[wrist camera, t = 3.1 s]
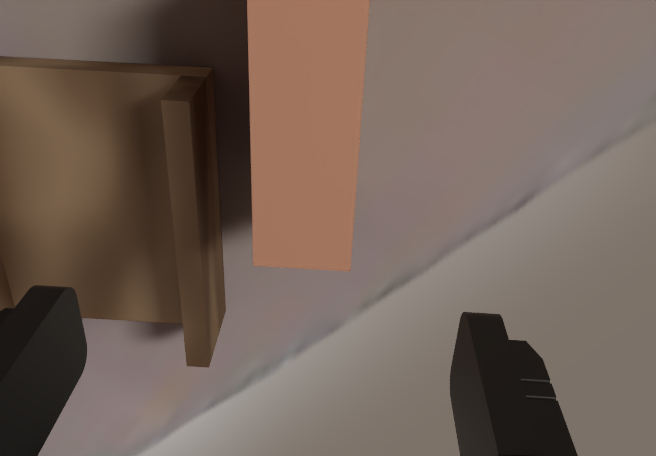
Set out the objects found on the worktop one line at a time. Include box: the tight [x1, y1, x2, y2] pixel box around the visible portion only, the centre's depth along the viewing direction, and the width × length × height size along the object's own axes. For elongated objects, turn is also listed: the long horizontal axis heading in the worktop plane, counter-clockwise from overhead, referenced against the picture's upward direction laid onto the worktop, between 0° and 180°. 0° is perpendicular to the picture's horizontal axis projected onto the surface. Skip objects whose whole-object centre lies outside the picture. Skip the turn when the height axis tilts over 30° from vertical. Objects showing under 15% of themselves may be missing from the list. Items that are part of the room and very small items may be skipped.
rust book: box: [247, 0, 370, 271], centre depth 27 cm, size 4×12×9 cm, turn 178°
